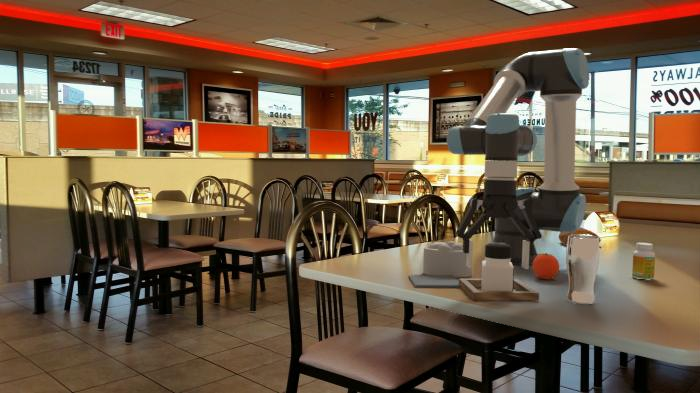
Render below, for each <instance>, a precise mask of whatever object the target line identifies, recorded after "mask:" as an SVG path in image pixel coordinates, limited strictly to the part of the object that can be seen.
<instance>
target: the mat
mask: <svg viewBox="0 0 700 393" xmlns="http://www.w3.org/2000/svg"><path fill="white" fill-rule="evenodd" d="M408 279H409V280H410V281H411V283H412V285H413V286H414V287H415V288H435V289H436V288H438V289H439V288H441V289H442V288H444V289H445V288H447V289H452V288H453V289H455V288H457V289H458V288H459V289H460V288H461V285H460V284H459V279H457V277H454V276H453V275H427V274H422V275H421V274H409V275H408ZM461 289H462V288H461Z"/></svg>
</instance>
